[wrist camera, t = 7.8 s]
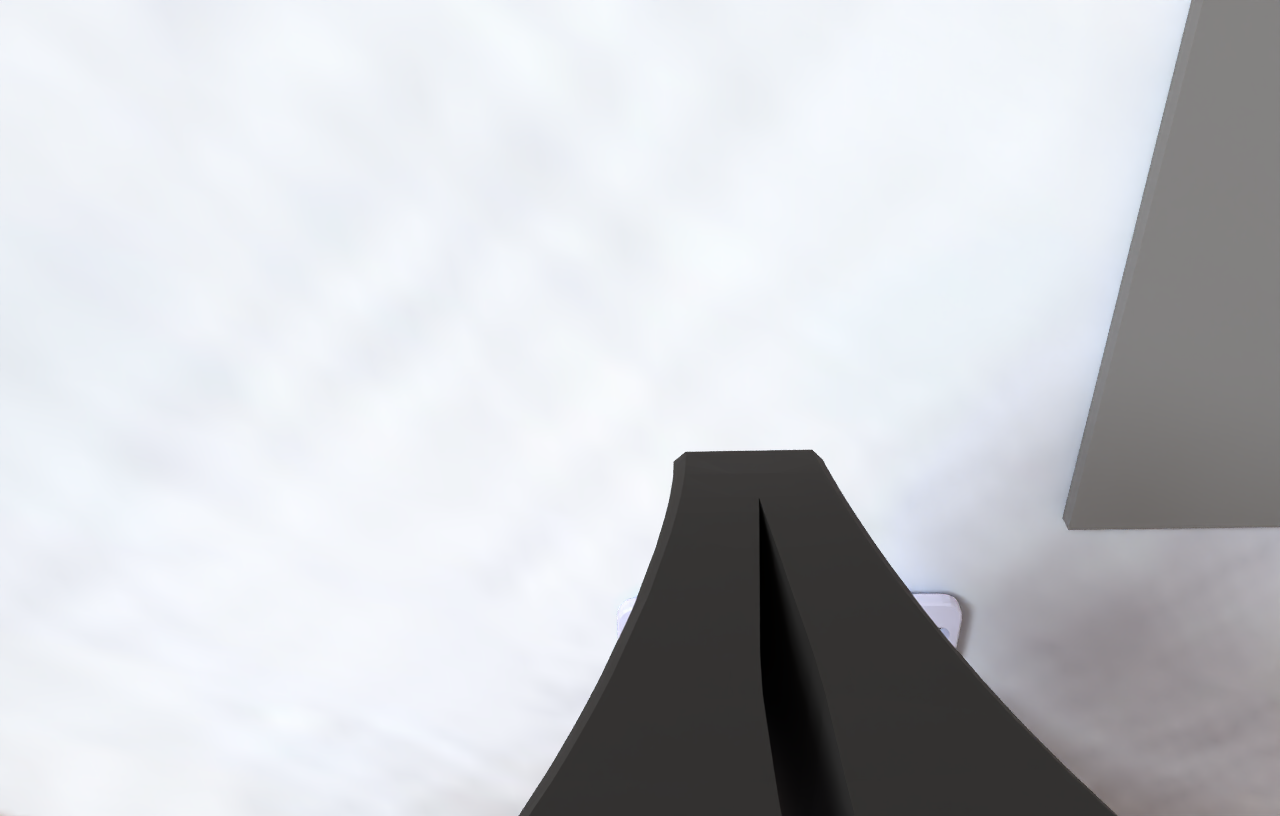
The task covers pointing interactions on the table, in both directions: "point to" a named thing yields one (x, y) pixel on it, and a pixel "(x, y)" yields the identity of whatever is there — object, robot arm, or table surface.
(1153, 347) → the mat
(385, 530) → the table surface
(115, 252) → the table surface
